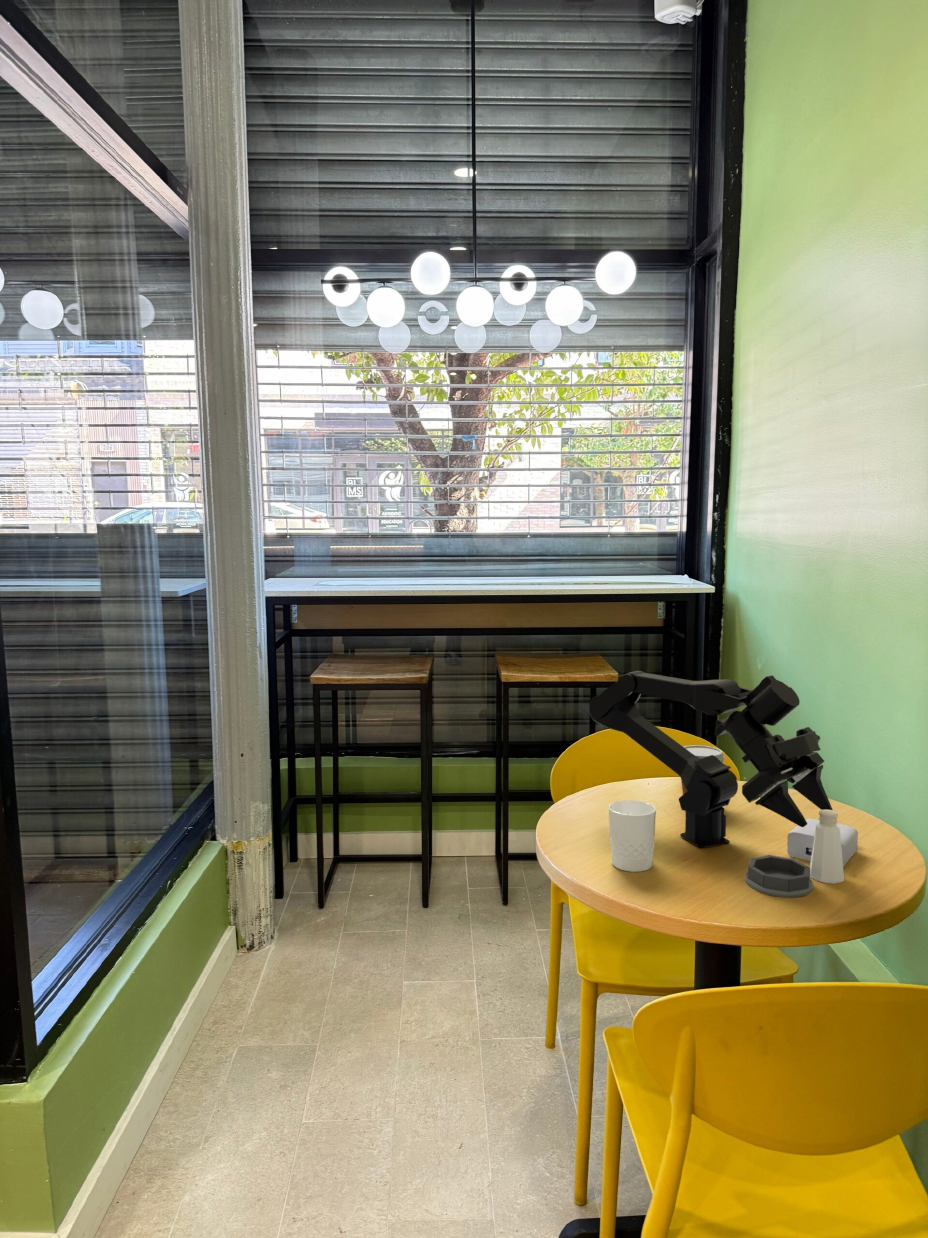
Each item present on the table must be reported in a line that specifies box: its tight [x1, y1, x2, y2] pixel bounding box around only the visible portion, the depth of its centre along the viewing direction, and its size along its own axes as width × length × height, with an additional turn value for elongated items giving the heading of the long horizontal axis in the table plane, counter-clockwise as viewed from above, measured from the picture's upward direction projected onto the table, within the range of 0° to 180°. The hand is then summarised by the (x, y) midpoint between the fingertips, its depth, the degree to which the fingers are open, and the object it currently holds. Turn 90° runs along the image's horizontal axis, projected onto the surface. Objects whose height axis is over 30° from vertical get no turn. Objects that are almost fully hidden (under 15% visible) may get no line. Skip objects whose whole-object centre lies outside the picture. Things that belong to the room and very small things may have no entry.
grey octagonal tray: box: [745, 854, 814, 899], centre depth 128 cm, size 10×10×3 cm
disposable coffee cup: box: [680, 744, 726, 795], centre depth 165 cm, size 10×10×12 cm
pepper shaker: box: [809, 809, 845, 885], centre depth 130 cm, size 5×5×11 cm
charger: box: [786, 818, 859, 867], centre depth 142 cm, size 5×9×15 cm
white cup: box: [608, 799, 657, 873], centre depth 136 cm, size 8×8×10 cm
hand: (818, 819), depth 131 cm, fingers open, 9 cm apart
